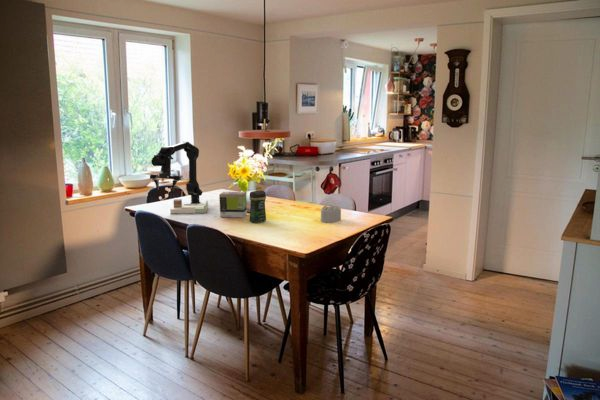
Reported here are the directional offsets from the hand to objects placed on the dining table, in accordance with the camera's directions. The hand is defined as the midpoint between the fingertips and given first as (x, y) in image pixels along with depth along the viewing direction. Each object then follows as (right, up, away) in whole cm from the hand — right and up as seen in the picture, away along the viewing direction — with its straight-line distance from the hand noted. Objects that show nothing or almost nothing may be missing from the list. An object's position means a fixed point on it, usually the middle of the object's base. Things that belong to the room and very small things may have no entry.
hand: (165, 190), depth 303 cm
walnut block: (+7, -10, +4) cm, 13 cm away
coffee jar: (+62, -19, -22) cm, 68 cm away
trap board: (+15, -13, +5) cm, 20 cm away
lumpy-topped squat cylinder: (+105, -19, -20) cm, 108 cm away
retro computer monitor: (+45, -16, -8) cm, 49 cm away
